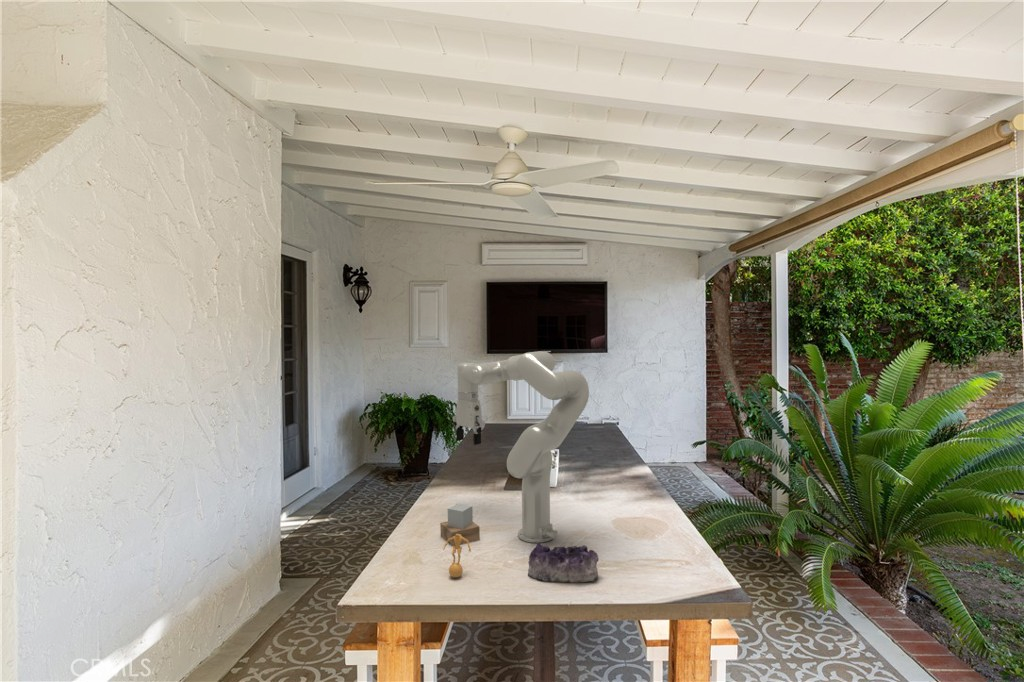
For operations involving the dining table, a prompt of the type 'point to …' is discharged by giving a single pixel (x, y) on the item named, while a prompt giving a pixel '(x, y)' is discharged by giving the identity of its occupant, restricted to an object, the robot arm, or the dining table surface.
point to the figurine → (456, 568)
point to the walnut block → (468, 533)
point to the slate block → (460, 516)
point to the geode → (563, 564)
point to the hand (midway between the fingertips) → (468, 442)
